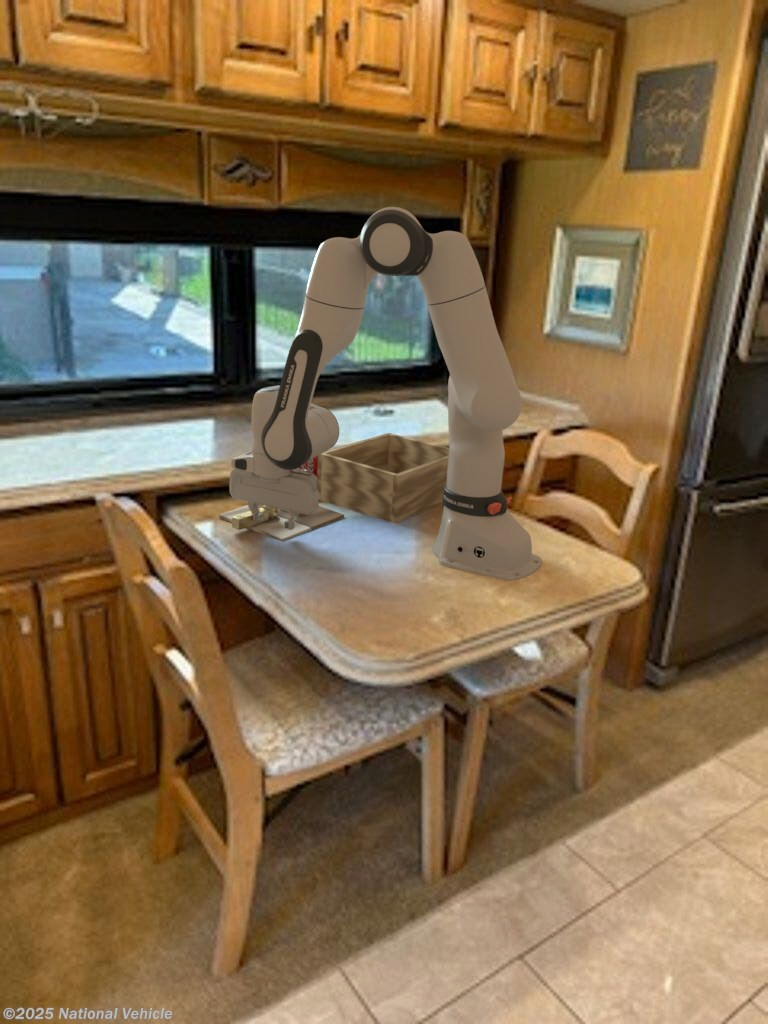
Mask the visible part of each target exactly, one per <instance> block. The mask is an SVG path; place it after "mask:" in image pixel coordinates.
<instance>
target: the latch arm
mask: <svg viewBox="0 0 768 1024" xmlns="http://www.w3.org/2000/svg"><path fill="white" fill-rule="evenodd" d="M258 509H259V511H260V513H263V521H266V520H272V519H276V518H277V517H278V508H274V507H269V506H265V505H261V507H260V508H258ZM263 521H262V522H263ZM258 523H259V522H254V521H253V514H252V513H251V511H248V512H245V513H242V514H239V515H236V516H233V517H232V523H231V528H233V529H235V530H238V531H240V530H244V529H247V528H246V527H249V526H252V525H255V524H258Z"/></svg>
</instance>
